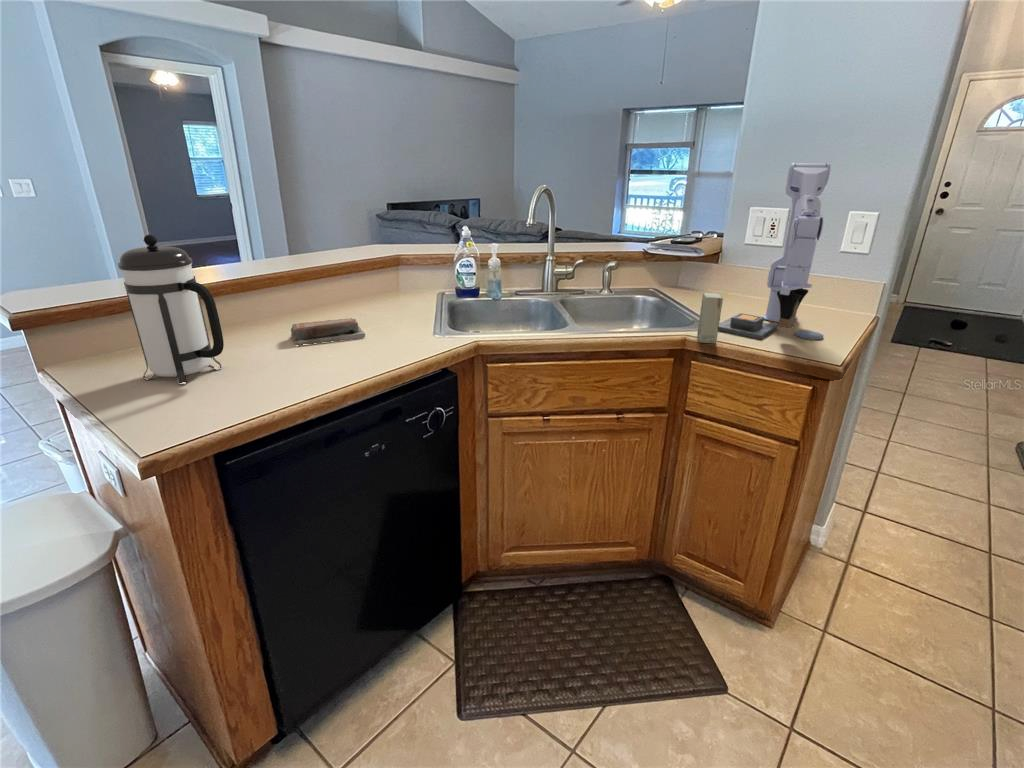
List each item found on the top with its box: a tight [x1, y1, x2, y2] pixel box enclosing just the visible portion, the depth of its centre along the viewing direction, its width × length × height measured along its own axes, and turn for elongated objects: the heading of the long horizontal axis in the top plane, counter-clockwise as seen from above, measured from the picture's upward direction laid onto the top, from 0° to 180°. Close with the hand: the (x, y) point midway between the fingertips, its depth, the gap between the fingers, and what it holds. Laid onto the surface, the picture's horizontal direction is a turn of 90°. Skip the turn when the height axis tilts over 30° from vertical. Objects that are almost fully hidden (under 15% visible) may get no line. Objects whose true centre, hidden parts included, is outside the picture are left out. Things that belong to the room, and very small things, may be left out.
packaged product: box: [290, 317, 366, 346], centre depth 142 cm, size 18×5×10 cm
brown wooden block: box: [777, 301, 799, 330], centre depth 140 cm, size 3×3×7 cm
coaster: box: [794, 329, 824, 341], centre depth 146 cm, size 7×7×1 cm
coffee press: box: [117, 234, 225, 384], centre depth 111 cm, size 17×16×30 cm
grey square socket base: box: [718, 312, 779, 341], centre depth 151 cm, size 13×13×4 cm
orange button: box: [737, 314, 760, 321], centre depth 150 cm, size 4×4×1 cm
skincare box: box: [696, 292, 724, 344], centre depth 140 cm, size 6×4×12 cm
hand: (787, 317), depth 140 cm, fingers closed on brown wooden block, 3 cm apart
